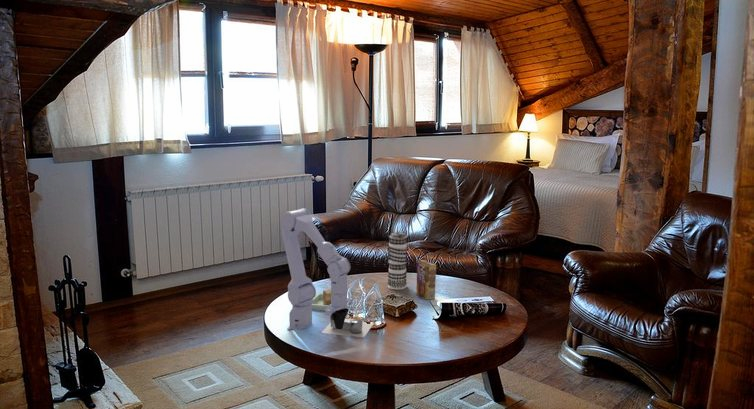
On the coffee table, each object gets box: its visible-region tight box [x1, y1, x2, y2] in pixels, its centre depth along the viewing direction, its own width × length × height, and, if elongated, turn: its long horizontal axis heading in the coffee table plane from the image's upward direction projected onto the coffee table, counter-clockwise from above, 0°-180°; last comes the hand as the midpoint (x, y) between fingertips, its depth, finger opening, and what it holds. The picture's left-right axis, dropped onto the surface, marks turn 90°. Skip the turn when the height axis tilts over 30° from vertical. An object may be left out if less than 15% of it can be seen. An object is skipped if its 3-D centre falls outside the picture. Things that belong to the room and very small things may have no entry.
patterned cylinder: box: [387, 231, 409, 291], centre depth 272 cm, size 9×9×25 cm
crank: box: [329, 316, 363, 334], centre depth 219 cm, size 13×4×5 cm, turn 66°
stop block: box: [322, 288, 331, 306], centre depth 246 cm, size 4×4×6 cm
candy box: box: [415, 259, 437, 301], centre depth 259 cm, size 9×4×15 cm, turn 31°
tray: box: [312, 293, 329, 312], centre depth 246 cm, size 14×14×3 cm
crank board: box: [321, 317, 374, 339], centre depth 223 cm, size 16×16×1 cm
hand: (339, 328), depth 216 cm, fingers closed
